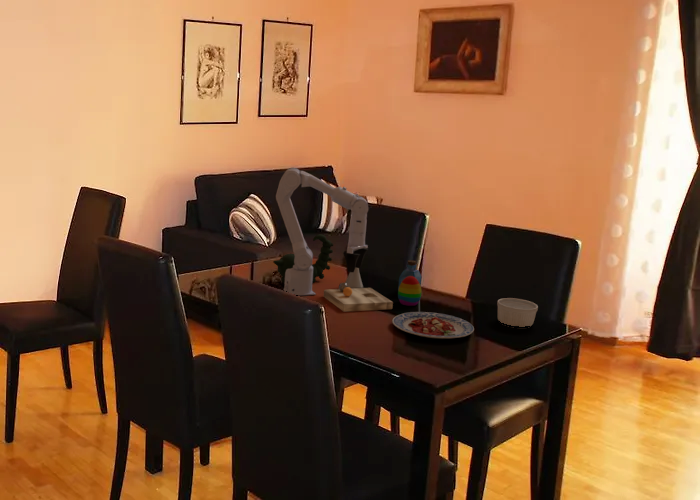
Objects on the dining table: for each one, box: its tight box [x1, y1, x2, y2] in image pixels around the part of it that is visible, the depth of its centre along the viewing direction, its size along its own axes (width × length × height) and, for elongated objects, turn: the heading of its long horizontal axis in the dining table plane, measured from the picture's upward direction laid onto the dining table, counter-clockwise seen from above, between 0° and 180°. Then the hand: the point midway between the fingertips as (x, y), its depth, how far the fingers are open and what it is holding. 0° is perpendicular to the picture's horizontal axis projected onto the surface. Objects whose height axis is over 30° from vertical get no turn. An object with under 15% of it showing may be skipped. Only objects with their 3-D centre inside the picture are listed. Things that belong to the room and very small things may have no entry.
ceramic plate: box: [391, 311, 475, 340], centre depth 254 cm, size 26×26×3 cm
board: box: [322, 287, 394, 313], centre depth 278 cm, size 18×18×2 cm
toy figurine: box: [272, 233, 334, 284], centre depth 298 cm, size 9×19×25 cm
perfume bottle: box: [397, 259, 422, 290], centre depth 295 cm, size 6×6×12 cm
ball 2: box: [343, 287, 352, 296], centre depth 276 cm, size 3×3×3 cm
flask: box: [344, 268, 364, 289], centre depth 297 cm, size 7×7×10 cm
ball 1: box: [338, 281, 348, 291], centre depth 281 cm, size 3×3×3 cm
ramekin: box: [496, 297, 539, 327], centre depth 268 cm, size 13×13×7 cm
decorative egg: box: [397, 276, 422, 307], centre depth 281 cm, size 8×8×10 cm
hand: (354, 269), depth 284 cm, fingers open, 7 cm apart
